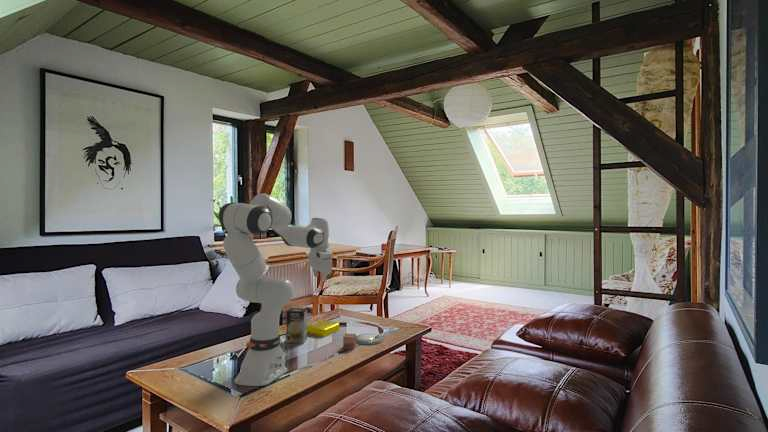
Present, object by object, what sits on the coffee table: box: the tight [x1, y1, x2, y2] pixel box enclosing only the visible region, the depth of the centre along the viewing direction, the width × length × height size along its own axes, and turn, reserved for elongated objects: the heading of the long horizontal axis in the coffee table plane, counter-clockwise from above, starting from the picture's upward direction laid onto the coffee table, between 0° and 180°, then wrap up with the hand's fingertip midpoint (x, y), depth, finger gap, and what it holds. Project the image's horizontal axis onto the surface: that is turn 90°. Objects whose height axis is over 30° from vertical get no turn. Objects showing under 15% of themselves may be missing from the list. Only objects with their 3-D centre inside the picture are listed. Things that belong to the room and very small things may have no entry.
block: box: [342, 332, 357, 350], centre depth 201 cm, size 5×5×6 cm
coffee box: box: [285, 307, 308, 345], centre depth 209 cm, size 9×6×16 cm
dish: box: [356, 333, 384, 346], centre depth 212 cm, size 14×14×1 cm
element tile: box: [307, 318, 340, 338], centre depth 226 cm, size 15×15×5 cm
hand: (319, 278), depth 204 cm, fingers open, 8 cm apart
